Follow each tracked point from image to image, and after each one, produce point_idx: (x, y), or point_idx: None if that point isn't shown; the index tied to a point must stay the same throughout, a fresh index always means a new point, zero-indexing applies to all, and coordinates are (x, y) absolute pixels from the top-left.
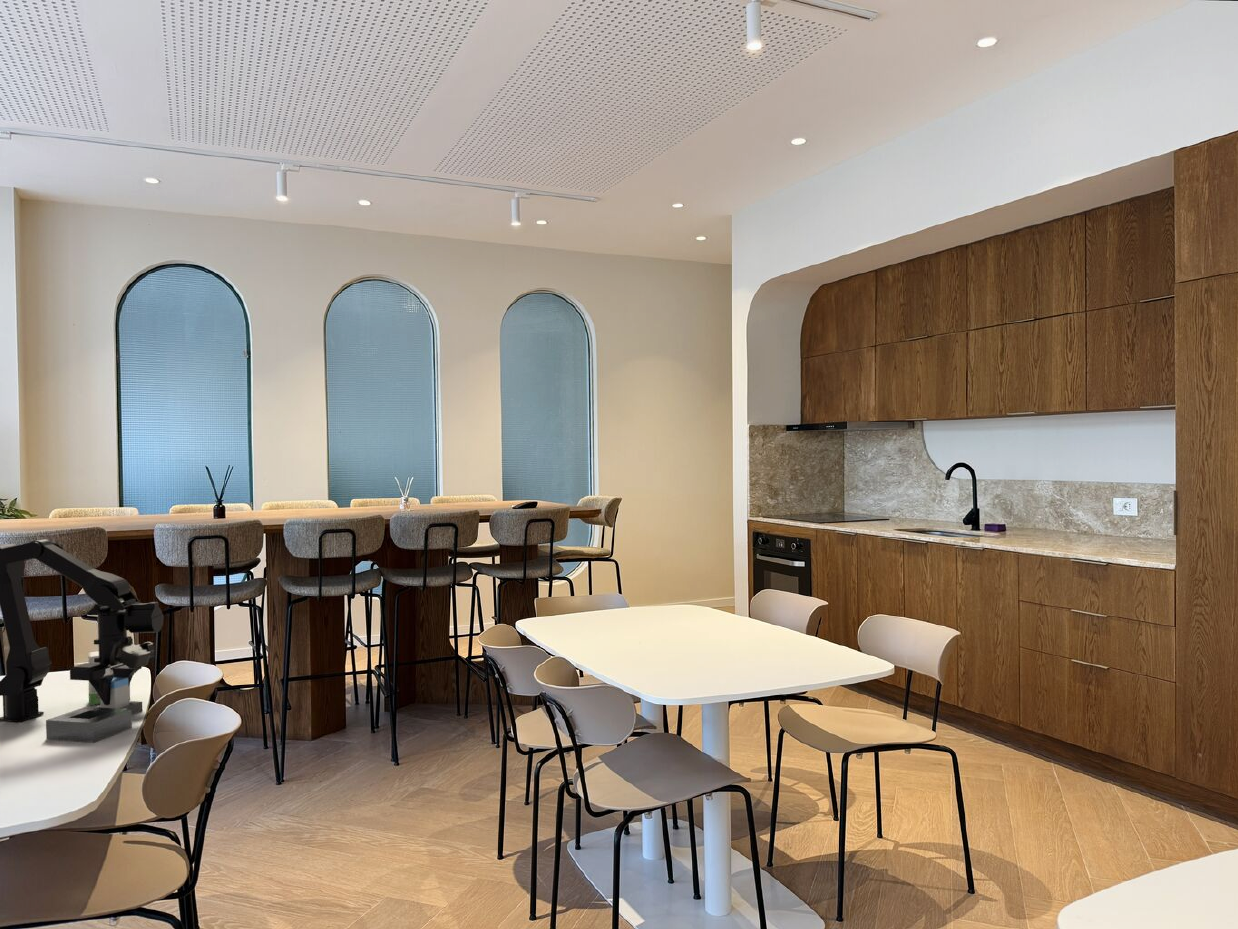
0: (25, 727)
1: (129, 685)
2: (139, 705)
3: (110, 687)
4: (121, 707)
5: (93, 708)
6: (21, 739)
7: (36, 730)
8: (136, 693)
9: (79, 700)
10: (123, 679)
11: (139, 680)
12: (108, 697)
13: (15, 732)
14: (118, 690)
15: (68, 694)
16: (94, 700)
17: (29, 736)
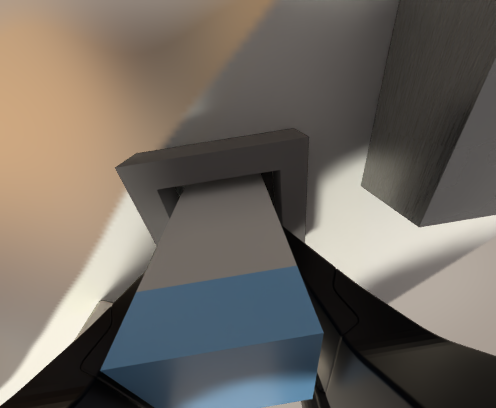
0: (374, 295)
1: None
2: (142, 158)
3: (314, 294)
4: (240, 174)
5: (474, 155)
6: (485, 227)
7: (402, 260)
8: (58, 330)
9: None
10: (177, 354)
11: (13, 388)
12: (296, 243)
13: (412, 282)
14: (250, 252)
15: None
16: None
17: (459, 233)
